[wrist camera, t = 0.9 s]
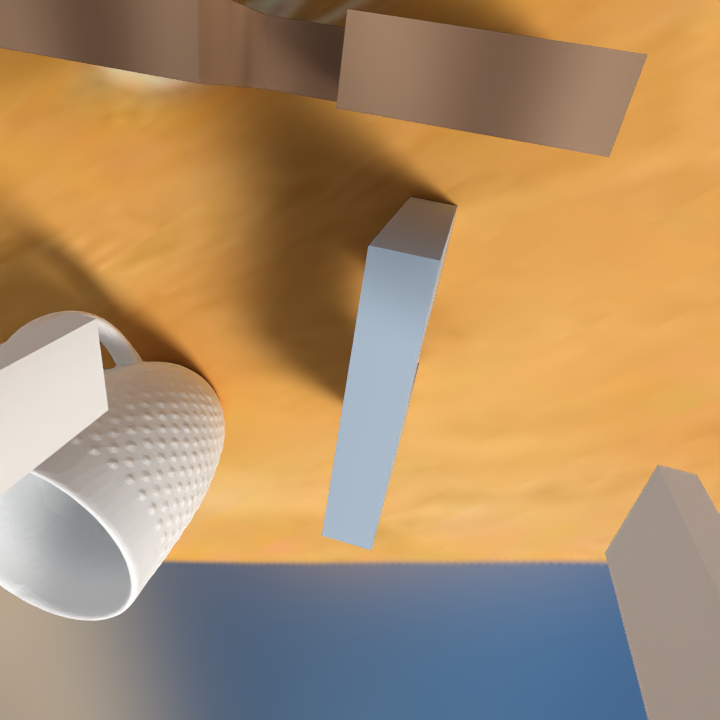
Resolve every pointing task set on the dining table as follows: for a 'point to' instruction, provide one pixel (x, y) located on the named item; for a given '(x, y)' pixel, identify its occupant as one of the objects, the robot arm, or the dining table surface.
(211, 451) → the mug
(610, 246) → the dining table surface
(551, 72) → the walnut slot plate
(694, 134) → the dining table surface
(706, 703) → the robot arm
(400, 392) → the pale blue flat slat
